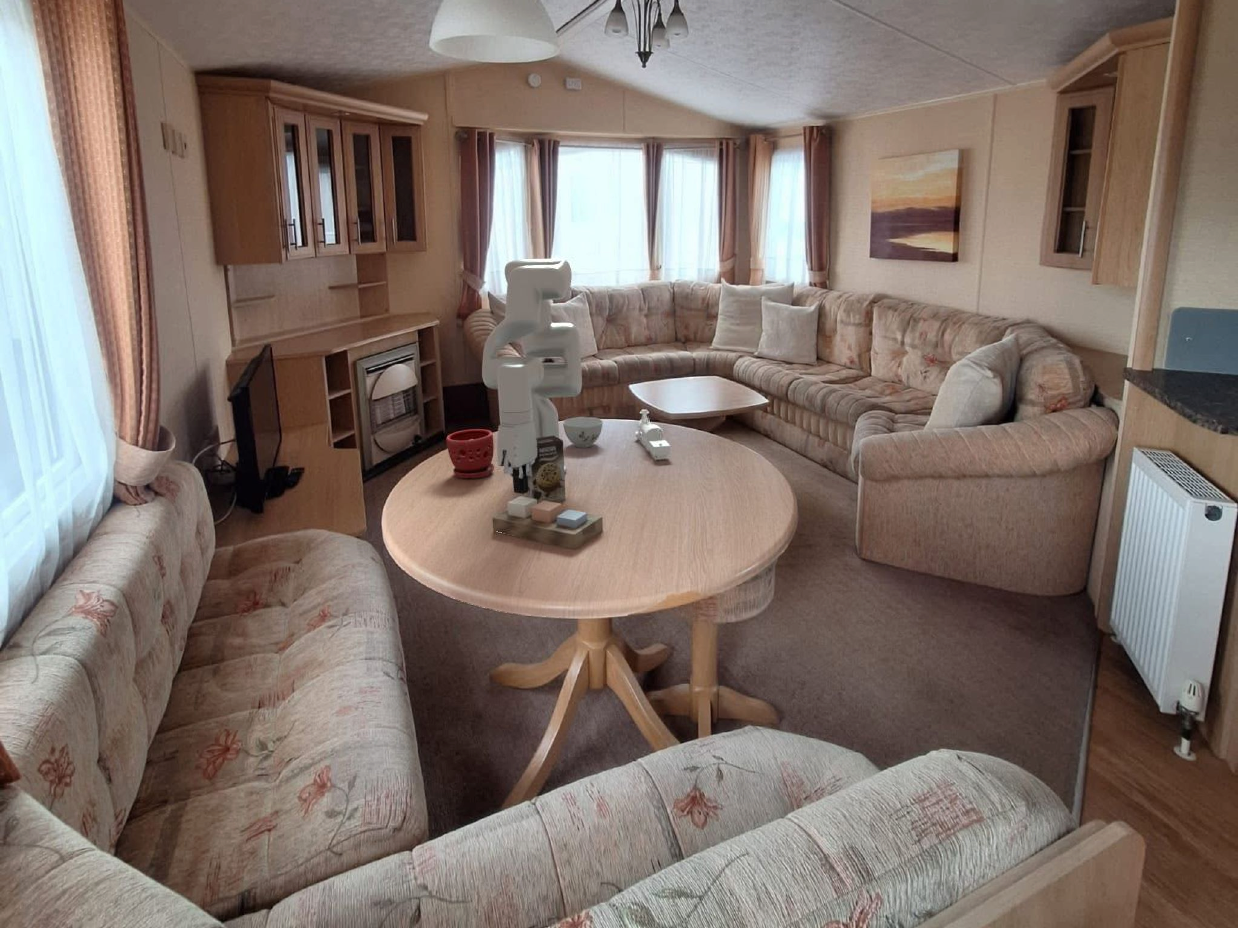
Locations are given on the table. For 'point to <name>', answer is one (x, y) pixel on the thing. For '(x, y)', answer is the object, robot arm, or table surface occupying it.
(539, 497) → the coffee box
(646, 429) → the toy train
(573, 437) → the teacup
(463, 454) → the plant pot
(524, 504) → the key white
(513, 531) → the key panel
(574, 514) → the key blue
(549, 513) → the key terracotta
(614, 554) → the table surface
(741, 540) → the table surface
